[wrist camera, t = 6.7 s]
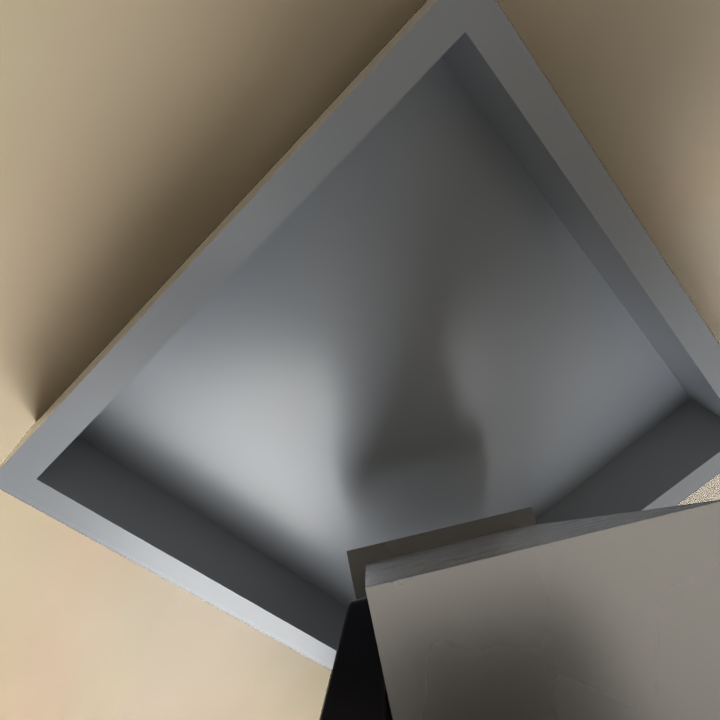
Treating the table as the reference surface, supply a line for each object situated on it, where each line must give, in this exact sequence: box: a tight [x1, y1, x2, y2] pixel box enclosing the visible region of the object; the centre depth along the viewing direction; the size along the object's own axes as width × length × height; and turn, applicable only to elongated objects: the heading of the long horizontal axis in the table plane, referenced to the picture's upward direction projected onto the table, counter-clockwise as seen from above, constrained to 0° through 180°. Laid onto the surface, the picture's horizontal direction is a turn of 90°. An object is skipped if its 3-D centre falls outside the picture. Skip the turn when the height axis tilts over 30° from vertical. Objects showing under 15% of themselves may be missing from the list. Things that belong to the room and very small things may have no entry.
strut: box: [346, 500, 720, 720], centre depth 9 cm, size 5×5×10 cm
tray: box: [0, 0, 720, 671], centre depth 14 cm, size 14×14×2 cm
